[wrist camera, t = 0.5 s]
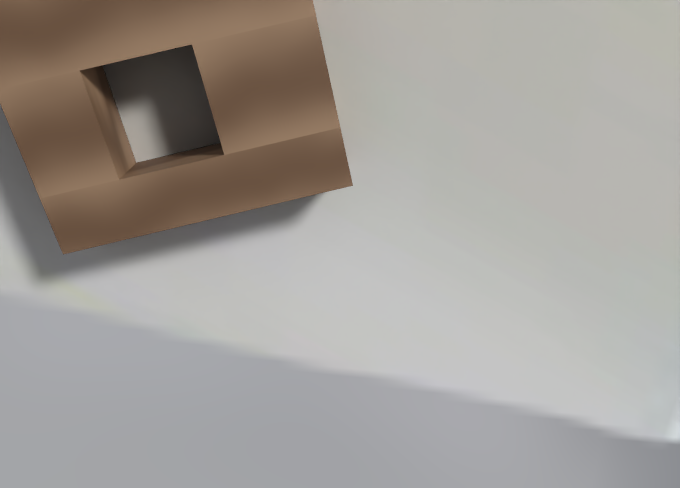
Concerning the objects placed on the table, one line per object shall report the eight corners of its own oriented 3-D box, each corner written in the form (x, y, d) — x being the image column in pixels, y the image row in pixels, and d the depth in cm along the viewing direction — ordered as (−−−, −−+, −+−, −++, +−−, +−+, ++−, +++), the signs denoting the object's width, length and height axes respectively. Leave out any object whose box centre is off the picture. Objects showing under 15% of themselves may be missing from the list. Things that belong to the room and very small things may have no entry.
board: (-22, -40, 31) (-64, -49, 27) (283, -111, 31) (284, -129, 27) (85, 230, 36) (63, 254, 32) (345, 168, 36) (352, 185, 32)
